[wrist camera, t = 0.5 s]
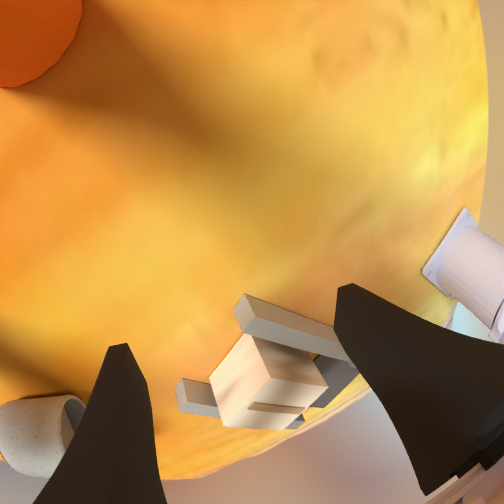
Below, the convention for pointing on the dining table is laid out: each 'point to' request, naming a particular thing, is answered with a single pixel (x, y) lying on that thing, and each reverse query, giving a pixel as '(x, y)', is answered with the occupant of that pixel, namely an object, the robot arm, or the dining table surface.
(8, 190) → the dining table surface
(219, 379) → the block
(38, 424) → the ceramic mug
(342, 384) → the mat
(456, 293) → the robot arm
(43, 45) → the spray bottle
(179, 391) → the chute
